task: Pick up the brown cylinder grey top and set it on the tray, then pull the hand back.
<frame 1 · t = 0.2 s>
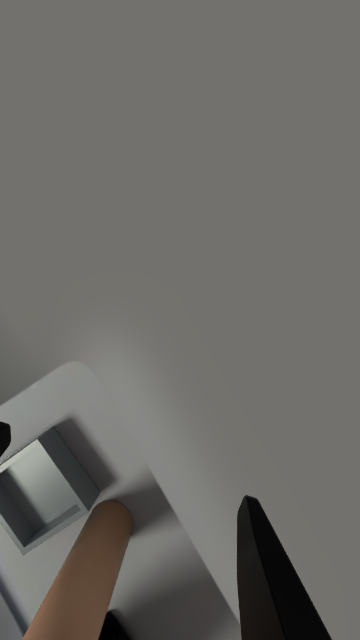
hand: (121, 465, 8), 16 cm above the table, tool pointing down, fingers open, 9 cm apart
tray: (46, 479, 26), on the table
brown cylinder grey top: (111, 522, 25), on the table
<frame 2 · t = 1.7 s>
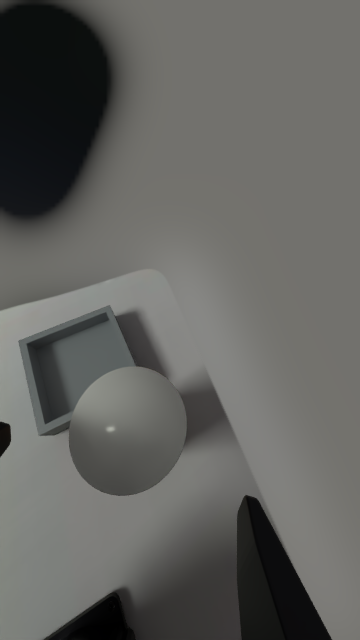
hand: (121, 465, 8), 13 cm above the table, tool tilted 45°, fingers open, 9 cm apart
tray: (87, 368, 23), on the table
brown cylinder grey top: (151, 429, 21), on the table
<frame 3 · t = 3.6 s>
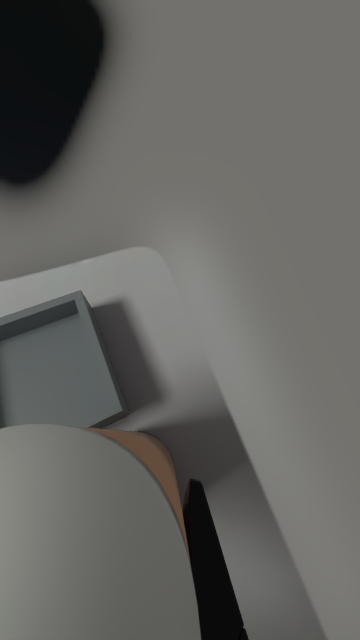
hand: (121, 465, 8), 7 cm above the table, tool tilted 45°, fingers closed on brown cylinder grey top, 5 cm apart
tray: (46, 381, 16), on the table
brown cylinder grey top: (134, 478, 14), on the table, touching gripper
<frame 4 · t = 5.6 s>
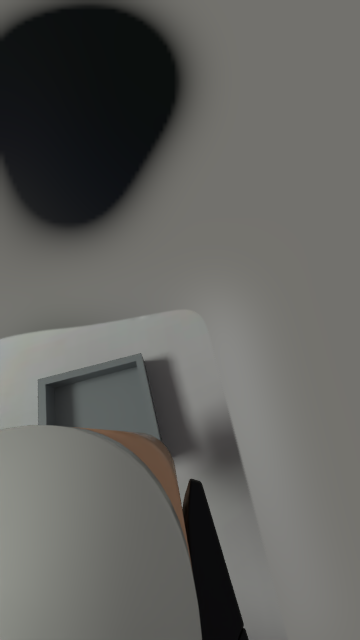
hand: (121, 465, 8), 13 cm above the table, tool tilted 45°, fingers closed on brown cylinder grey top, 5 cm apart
tray: (105, 420, 21), on the table
brown cylinder grey top: (134, 479, 14), point 6 cm above the table, touching gripper
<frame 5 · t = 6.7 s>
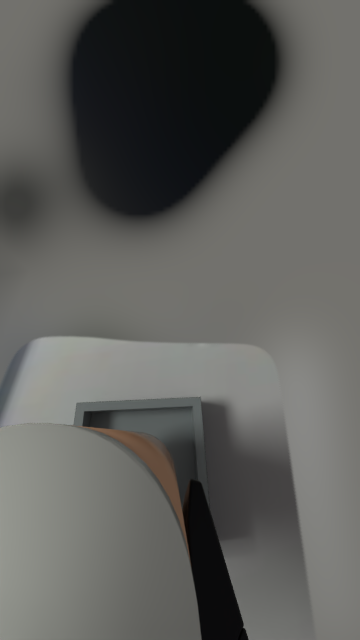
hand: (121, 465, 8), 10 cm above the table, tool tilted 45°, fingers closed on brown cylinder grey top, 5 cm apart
tray: (141, 467, 17), on the table
brown cylinder grey top: (134, 478, 14), point 4 cm above the table, touching gripper
when the fingers open (9 cm above the table, at t = 7.4 s): brown cylinder grey top drops 1 cm, resting on tray.
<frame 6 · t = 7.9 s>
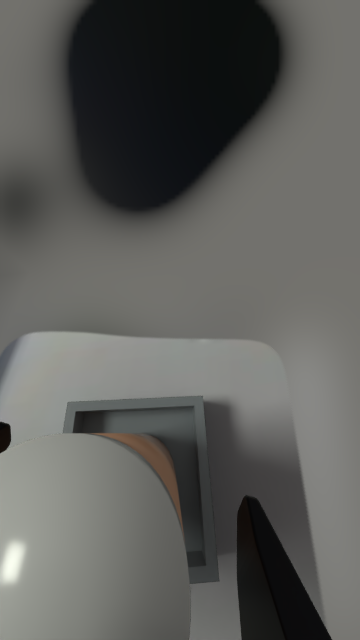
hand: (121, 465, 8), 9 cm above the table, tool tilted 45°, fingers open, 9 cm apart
tray: (138, 473, 15), on the table
brown cylinder grey top: (137, 476, 15), point 1 cm above the table, touching tray
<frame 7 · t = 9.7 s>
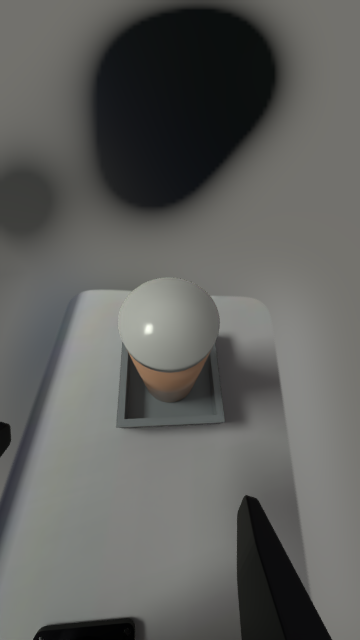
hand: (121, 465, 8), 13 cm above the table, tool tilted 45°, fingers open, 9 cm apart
tray: (169, 376, 23), on the table
brown cylinder grey top: (169, 375, 22), point 1 cm above the table, touching tray
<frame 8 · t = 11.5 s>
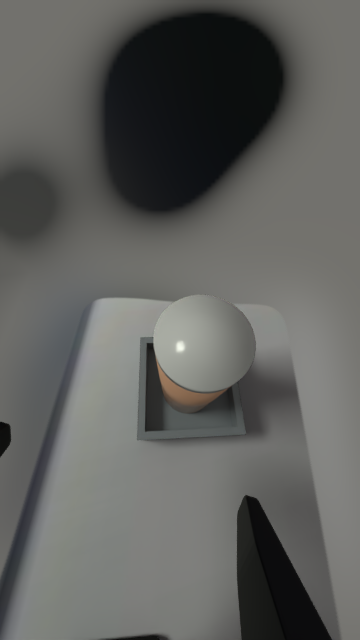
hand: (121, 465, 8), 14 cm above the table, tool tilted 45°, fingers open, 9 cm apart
tray: (187, 386, 23), on the table
brown cylinder grey top: (187, 386, 22), point 1 cm above the table, touching tray
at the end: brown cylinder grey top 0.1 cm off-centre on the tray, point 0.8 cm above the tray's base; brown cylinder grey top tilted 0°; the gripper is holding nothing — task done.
